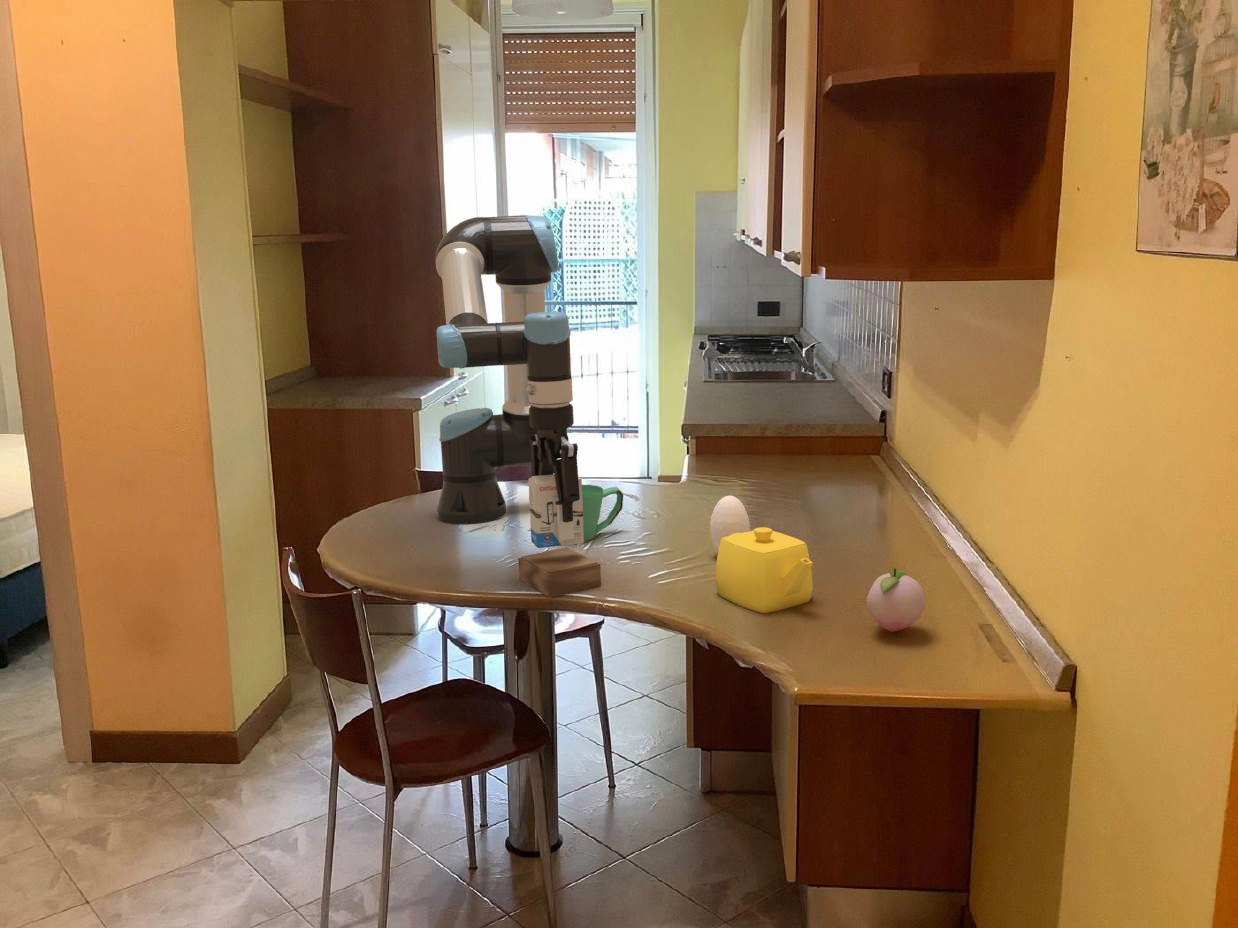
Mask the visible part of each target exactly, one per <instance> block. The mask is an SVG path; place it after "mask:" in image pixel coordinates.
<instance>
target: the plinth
mask: <svg viewBox="0 0 1238 928" xmlns="http://www.w3.org/2000/svg"><path fill="white" fill-rule="evenodd" d="M517 562H518V576H519V580H520V581H521V582H522V583H525V584H527V586H530V587H531V588H533V589H535V590H536V591H538V592H540V593H542V594H543V595H545V596H547V597H549V598H550V599H551V598H555V597H559V596H565V595H569V594H573V593H577V592H581V591H582V592H583V591H586V590H590V589H595V588H598V587H602V576H601V575H602V573H601V572H602V571H601V563H599V562H598V561H596V560H593V559H592V558H589V557H587V556H585V555H583V554H581V553H579V552H577V551H576V550H575V551H574V550H573V549H571V548H569V547H562V548H557V549H553V550H552V549H551V550H548V551H547V550H546V551H542V552H538V553H533V554H532V553H531V554H528V555H522V556H520V557H518V558H517Z"/></svg>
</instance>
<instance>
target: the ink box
mask: <svg viewBox="0 0 1238 928" xmlns="http://www.w3.org/2000/svg"><path fill="white" fill-rule="evenodd" d="M582 480H583V479H582V478H581V477H579V476H578V481H579V494H580V499H579V500H578V501H574V502H573V524H574V538H573V539H568V540H563V541H559V540H558V525H557V505H556V503H555V502H557V501H559V498H558V493H557V487H556V482H555V477H554V475H542V476H532V475H531V477H529V478H528V498H529V501H528V502H529V503H528V504H529V516H530V517H529V519H530V523H529V524H530V537H531V543H533V545H534V546H535V547H536V548H537V549H543V548H544V549H545V548H553V547H560V546H561V547H564V546H571V545H579V544H584V542H585V541H584V534H583V502H582V485H583V483H582V482H583V481H582Z"/></svg>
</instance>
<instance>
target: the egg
mask: <svg viewBox="0 0 1238 928" xmlns="http://www.w3.org/2000/svg"><path fill="white" fill-rule="evenodd" d="M750 524H751V523H750V518H749V516H748V513H747V510H746V508H745V506H744V504H743V503H742V501H741V500H740V499H739V498H737V497H735V496H734V495H726V496H723V497H721V498H720V499H719V501H718V502H717V503H716V505H715V507H714V509H713V510H712V513H711V518H710V522H709V534H710V540H711V542H712V544H713V546H714V548H715V549H716V550H717V552H718V551H719V546H720V541H721V539H722V538H723V537H727V536H730V535H732V534H734V533H744V532H749V531H751V527H750Z"/></svg>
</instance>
